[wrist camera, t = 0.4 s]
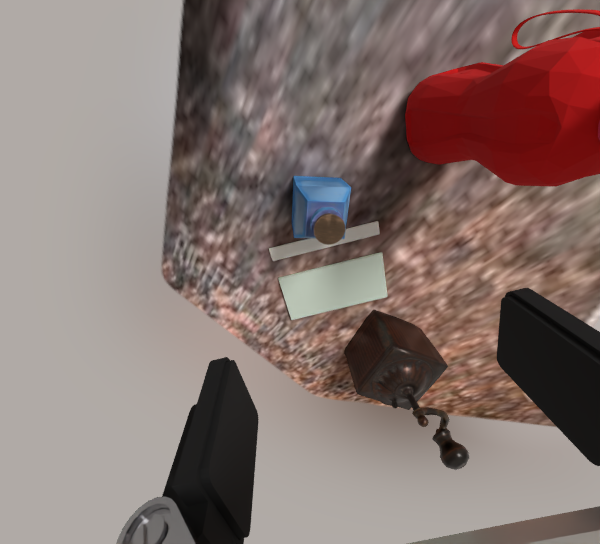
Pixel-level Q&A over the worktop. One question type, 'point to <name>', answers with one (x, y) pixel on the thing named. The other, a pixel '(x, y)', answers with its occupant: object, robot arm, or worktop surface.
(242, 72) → the worktop surface
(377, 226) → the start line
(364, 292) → the mat
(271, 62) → the worktop surface
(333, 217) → the perfume bottle
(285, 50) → the worktop surface
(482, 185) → the worktop surface
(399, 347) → the dark brown coffee grinder
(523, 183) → the water bottle
